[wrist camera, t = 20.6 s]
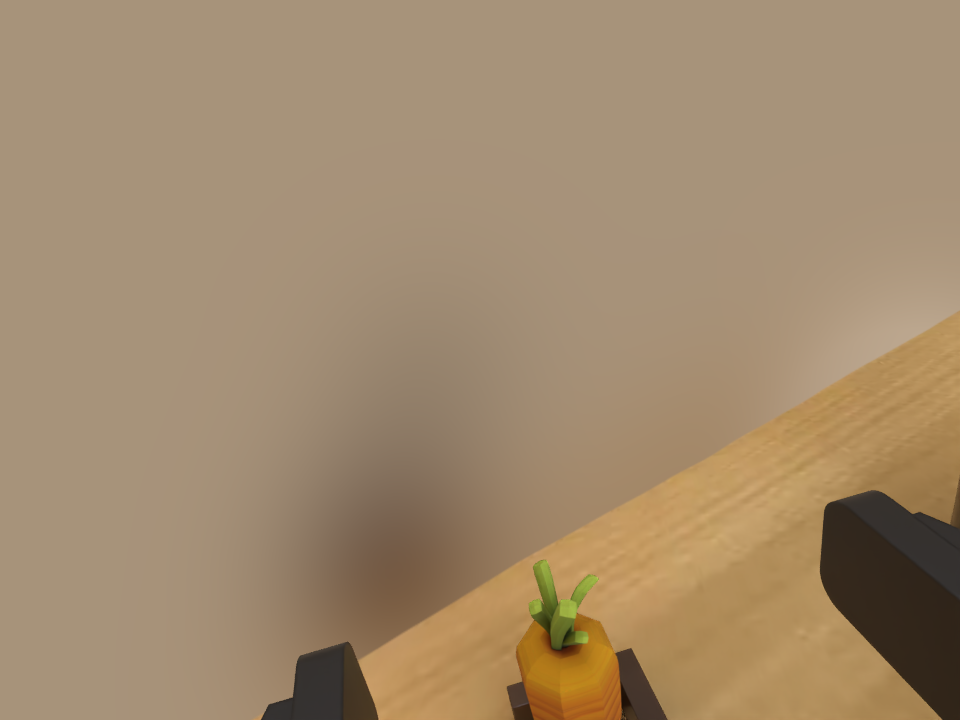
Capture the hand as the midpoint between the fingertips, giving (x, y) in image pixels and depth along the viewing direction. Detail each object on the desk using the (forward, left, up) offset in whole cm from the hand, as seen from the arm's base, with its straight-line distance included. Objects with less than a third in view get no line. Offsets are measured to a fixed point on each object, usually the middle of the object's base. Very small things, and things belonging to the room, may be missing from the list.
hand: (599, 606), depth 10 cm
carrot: (-2, -13, -28) cm, 31 cm away
